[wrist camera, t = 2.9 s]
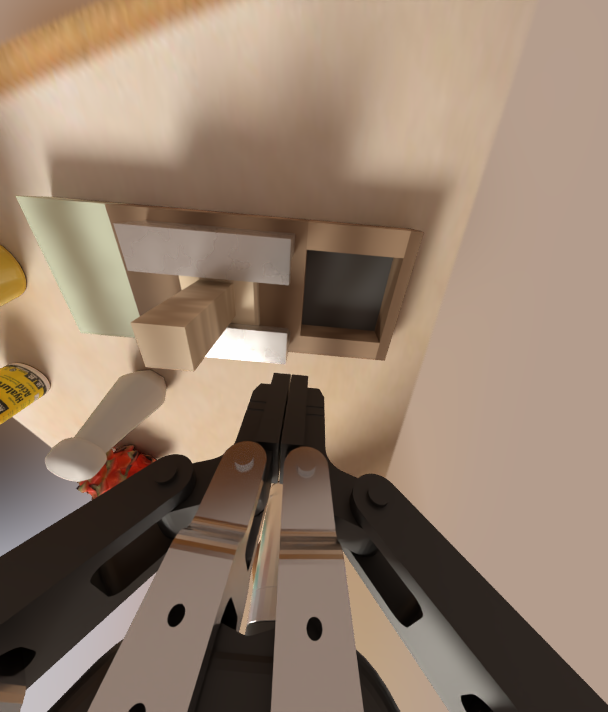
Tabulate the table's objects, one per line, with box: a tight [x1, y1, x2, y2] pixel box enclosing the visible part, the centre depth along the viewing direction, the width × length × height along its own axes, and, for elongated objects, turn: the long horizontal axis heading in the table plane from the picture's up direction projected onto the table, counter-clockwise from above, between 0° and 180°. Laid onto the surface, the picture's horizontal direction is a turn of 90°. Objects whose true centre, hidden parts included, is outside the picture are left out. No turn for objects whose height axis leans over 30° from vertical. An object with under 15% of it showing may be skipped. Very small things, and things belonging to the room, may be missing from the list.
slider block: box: [130, 276, 260, 372], centre depth 17 cm, size 6×6×10 cm
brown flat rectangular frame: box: [16, 196, 424, 361], centre depth 23 cm, size 32×12×3 cm, turn 86°
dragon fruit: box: [77, 445, 157, 500], centre depth 38 cm, size 8×8×12 cm
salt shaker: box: [45, 370, 167, 482], centre depth 27 cm, size 6×6×13 cm
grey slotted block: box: [113, 220, 295, 364], centre depth 20 cm, size 12×10×4 cm
